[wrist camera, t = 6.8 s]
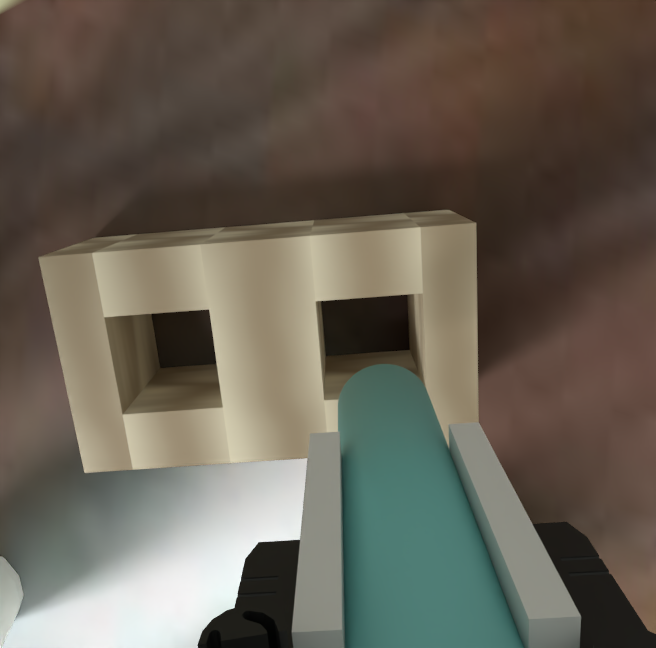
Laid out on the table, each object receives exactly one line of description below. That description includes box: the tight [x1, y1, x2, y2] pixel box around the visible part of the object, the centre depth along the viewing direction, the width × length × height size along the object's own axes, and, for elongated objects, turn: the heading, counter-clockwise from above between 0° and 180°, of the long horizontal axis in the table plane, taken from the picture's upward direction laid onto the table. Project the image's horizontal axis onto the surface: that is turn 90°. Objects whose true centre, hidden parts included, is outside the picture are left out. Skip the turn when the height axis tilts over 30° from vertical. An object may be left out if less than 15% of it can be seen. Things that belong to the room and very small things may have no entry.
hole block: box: [38, 210, 478, 473], centre depth 29 cm, size 18×10×6 cm, turn 95°
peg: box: [338, 364, 524, 648], centre depth 14 cm, size 3×3×12 cm
